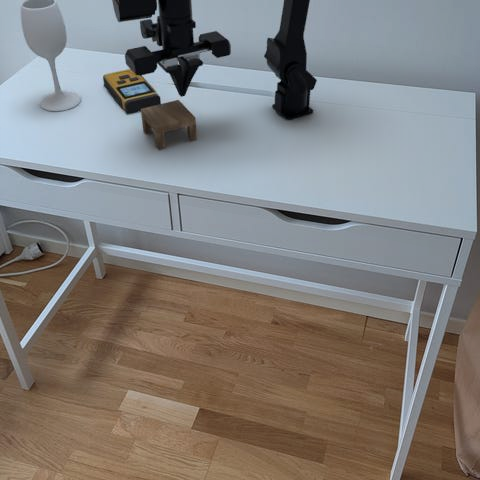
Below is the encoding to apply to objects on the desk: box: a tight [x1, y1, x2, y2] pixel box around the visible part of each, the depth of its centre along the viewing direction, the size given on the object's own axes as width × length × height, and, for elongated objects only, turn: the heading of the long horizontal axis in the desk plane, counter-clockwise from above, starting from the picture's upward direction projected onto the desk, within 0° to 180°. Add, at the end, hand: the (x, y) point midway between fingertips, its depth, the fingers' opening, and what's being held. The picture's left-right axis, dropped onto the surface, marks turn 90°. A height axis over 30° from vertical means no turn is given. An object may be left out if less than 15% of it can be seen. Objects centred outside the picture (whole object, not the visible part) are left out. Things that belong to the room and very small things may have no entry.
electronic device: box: [102, 68, 162, 115], centre depth 129 cm, size 8×16×3 cm, turn 28°
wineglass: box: [20, 0, 82, 112], centre depth 120 cm, size 9×9×21 cm
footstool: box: [140, 99, 198, 151], centre depth 115 cm, size 5×8×8 cm
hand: (181, 95), depth 112 cm, fingers closed
